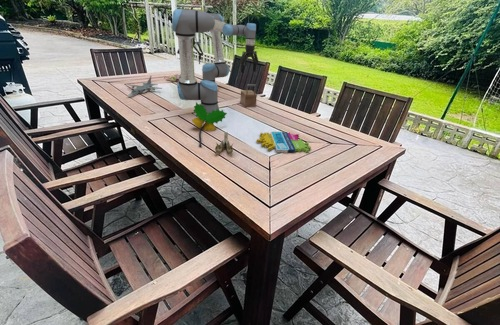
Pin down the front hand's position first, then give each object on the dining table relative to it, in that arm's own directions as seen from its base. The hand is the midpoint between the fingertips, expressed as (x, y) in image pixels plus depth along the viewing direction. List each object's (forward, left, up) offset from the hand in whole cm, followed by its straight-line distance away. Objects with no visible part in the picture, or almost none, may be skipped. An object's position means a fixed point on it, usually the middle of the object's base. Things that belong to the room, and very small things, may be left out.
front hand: (190, 63), depth 210 cm
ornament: (-72, -5, -27) cm, 77 cm away
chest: (-24, -43, -27) cm, 56 cm away
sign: (-99, -43, -27) cm, 111 cm away
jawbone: (-104, -8, -27) cm, 108 cm away
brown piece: (-24, -43, -18) cm, 53 cm away
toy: (+68, +9, -27) cm, 74 cm away
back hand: (-4, -47, -5) cm, 48 cm away
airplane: (+17, +41, -27) cm, 52 cm away
